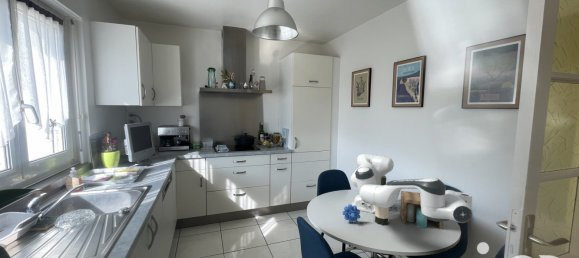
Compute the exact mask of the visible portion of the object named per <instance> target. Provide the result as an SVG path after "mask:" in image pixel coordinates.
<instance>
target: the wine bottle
mask: <svg viewBox="0 0 579 258" xmlns="http://www.w3.org/2000/svg"><path fill="white" fill-rule="evenodd" d="M386 184H387V177H386V175H385V176H382V177H381V185H382V186H383V185H386ZM389 211H390V207H388V208H384V207H379V206H376V207H375V213H374V223H376V224H377V225H381V226H388V225H389V213H390V212H389Z"/></svg>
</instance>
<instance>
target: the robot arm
mask: <svg viewBox="0 0 579 258" xmlns="http://www.w3.org/2000/svg"><path fill="white" fill-rule="evenodd" d="M356 164H357V165H358V167H357V168H356V169H355V170H354V171H353V173H351V176H350V183H351V185H353V186H354V187H356V188H357V189H358V192H359V193H358V194H357V195H355V197H354V199H353V200H352V201H351V203H350V204H351V205H352V206H353V205H355V206H357V209H359V210H360V212H361V211H362V212H365V213H371V214H375V207H376V206H379V207H384V208H388V207H389V208H390V207H393V206H394V205H395V203H396V202H397V200H398V198H399V195H400V194H401V191H402V190H418V192H419V193H420V199H421V213H422V214H423V215H424V216H425V217H427V218H428V219H430V220H429V221H432V222H435V221H436V222H443V223H444V222H448V221H454V222H457V223H460V224H464V223H467V222H469V221H470V219H472V216H473V211H472V205H473V196H472V195H471V194H470V193H468V192H460V191H454V190H451V189H447V187H446V184H445V183H444V182H443V181H442V180H441V179H439V178H436V177H425V178H415V179H411V178H410V179H394V180H390V181H386V185H383V186H382V185H381V177H382V176H386V175H387V174H388V173H390V172H391V171H392V170H393V169H394V165H395V164H394V161H393V159H392V158H391V157H388V156H383V155H378V154H370V153H362V154H361V153H360V154H359V155H357V157H356ZM446 189H447V190H446ZM436 222H435V223H436Z"/></svg>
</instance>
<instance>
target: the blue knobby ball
mask: <svg viewBox="0 0 579 258" xmlns="http://www.w3.org/2000/svg"><path fill="white" fill-rule="evenodd" d="M360 214H361V210H359V209H357V206H355V205H353V206H352V205H351V203H349V204H348V205H347V206H346V205H345V206H344V207H343V211H342V215H343V216H344V217H343V218H344V219H345V221H348V222H349V223H351V224H353V222H354V223H357V222H358V221H359V219H360V218H361V215H360Z"/></svg>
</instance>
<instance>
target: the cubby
mask: <svg viewBox="0 0 579 258" xmlns="http://www.w3.org/2000/svg"><path fill="white" fill-rule="evenodd" d="M406 203H412V204H415V219H416V214H417V207H421V199H420V192H415V191H405V190H401V191H400V207H399V208H400V209H399V217H400V220H401V222H402V223H401V224H404V225H405V224H406V220H405V217H406ZM427 221H431V220H430V219H428V218H427ZM434 222H435V224H436V223H437V224H436V225H437V227H438V228H439V229H441V230H443V228H444V222H436V221H434Z"/></svg>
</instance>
